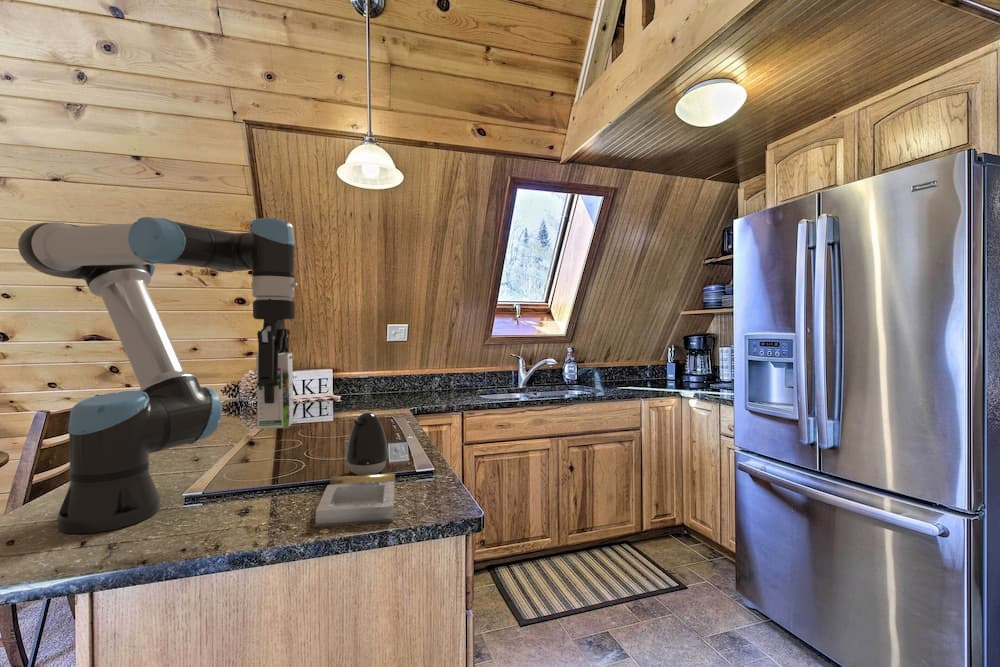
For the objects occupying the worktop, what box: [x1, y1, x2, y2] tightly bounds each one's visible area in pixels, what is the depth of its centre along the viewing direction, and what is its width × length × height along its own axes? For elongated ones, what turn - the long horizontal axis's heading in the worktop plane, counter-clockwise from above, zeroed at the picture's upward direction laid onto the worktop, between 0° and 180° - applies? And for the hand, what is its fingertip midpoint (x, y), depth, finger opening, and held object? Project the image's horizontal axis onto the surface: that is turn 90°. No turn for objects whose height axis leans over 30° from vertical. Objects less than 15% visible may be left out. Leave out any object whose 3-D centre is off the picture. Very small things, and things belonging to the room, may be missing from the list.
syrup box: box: [255, 352, 294, 430], centre depth 94 cm, size 6×6×14 cm
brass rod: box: [329, 473, 396, 488], centre depth 108 cm, size 14×3×3 cm, turn 101°
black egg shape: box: [345, 412, 389, 476], centre depth 119 cm, size 10×10×15 cm
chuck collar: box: [315, 481, 395, 528], centre depth 96 cm, size 14×14×3 cm
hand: (275, 416), depth 94 cm, fingers closed on syrup box, 6 cm apart
